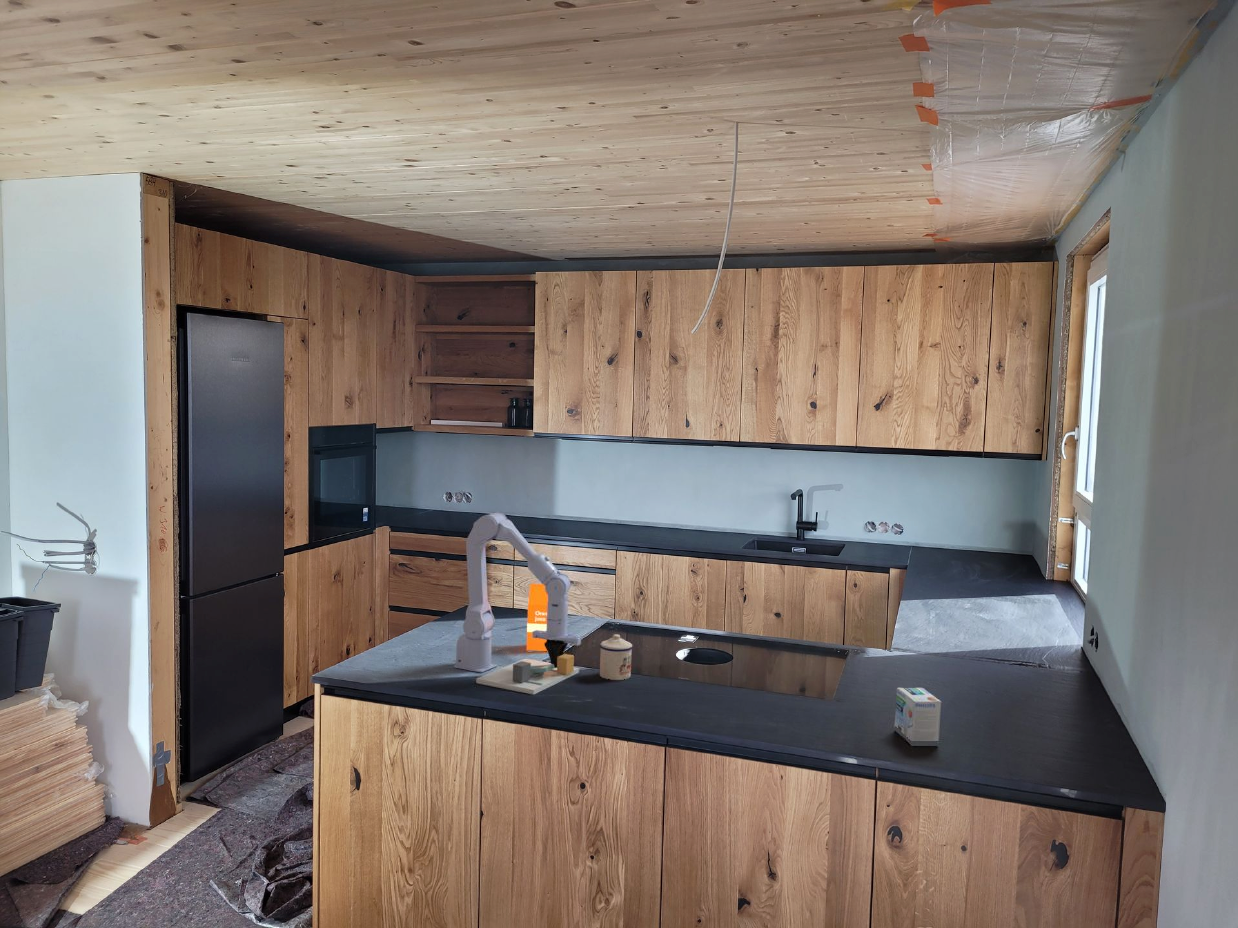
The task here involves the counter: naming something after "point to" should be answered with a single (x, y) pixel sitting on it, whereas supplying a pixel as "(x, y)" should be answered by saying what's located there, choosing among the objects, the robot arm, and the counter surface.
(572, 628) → the counter surface
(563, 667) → the block
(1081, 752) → the counter surface
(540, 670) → the teal flat block
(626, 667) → the teacup with lid
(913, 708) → the light bulb box
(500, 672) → the panel
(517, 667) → the charcoal fader
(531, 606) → the orange juice
